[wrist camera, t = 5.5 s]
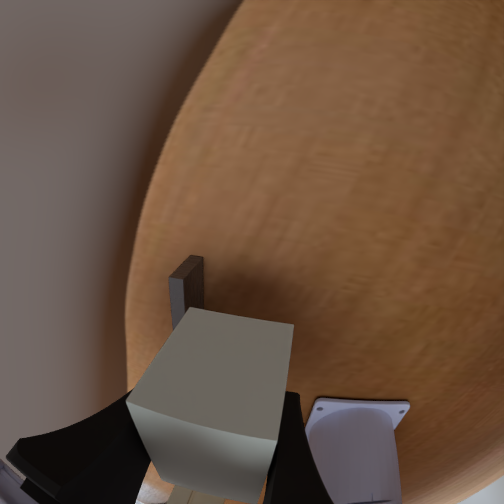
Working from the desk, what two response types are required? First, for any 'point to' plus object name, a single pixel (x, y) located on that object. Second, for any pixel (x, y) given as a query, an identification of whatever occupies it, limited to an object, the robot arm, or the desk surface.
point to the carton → (215, 403)
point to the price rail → (186, 288)
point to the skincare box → (192, 497)
